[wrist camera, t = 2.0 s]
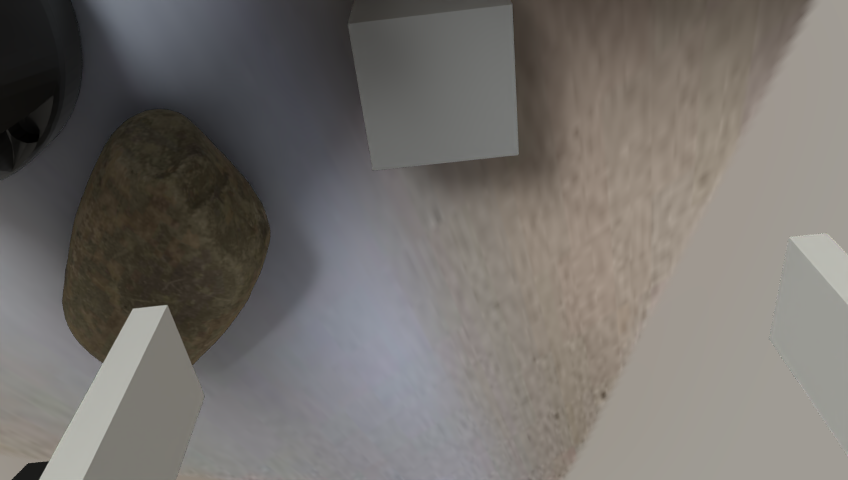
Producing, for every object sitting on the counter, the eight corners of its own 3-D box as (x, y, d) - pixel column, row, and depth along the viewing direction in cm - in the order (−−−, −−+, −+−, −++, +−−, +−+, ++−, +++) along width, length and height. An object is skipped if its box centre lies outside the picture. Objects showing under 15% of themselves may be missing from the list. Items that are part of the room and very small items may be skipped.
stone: (317, 145, 33) (259, 341, 28) (238, 250, 44) (187, 402, 39) (133, 62, 30) (31, 265, 25) (99, 198, 41) (24, 356, 36)
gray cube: (378, 114, 33) (372, 170, 28) (358, -14, 30) (347, 23, 25) (502, 100, 33) (518, 154, 28) (495, -30, 30) (512, 4, 25)
